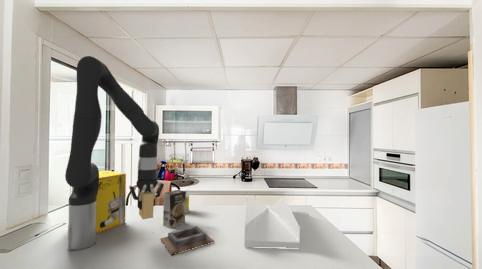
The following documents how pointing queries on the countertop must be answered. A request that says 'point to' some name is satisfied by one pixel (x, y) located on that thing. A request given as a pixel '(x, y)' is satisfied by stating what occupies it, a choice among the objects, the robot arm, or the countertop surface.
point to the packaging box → (110, 200)
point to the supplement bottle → (186, 201)
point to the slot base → (185, 239)
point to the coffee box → (174, 208)
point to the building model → (270, 225)
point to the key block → (147, 205)
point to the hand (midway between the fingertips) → (146, 207)
